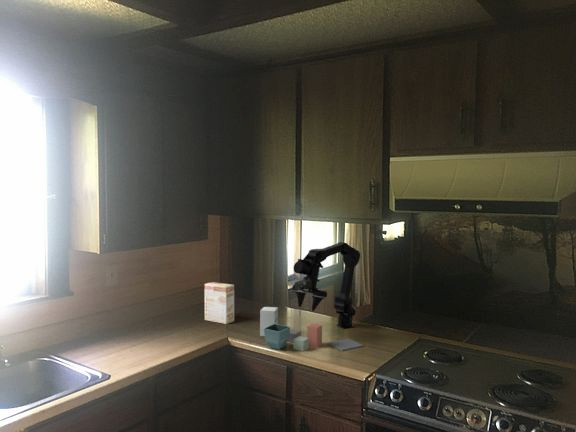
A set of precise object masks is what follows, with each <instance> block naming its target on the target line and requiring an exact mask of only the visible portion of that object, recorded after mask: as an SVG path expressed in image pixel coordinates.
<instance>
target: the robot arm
mask: <svg viewBox="0 0 576 432" xmlns="http://www.w3.org/2000/svg"><path fill="white" fill-rule="evenodd" d="M339 253H340V255H341V256H342V262H343V264H344V269H343V276H342V280H341V281H342V282H341V287H340V292H339V295H338V296H335V297H334V303H333V305H334V310H335V312H336V314H337V315H338V319H337V320H338V321H337V324H336V326H338V327H339V328H342V329H350V328H354V327H355V325H354V324H353V317H354V316H356V309H354V307H353V304H352V303H353V301H352V298H351V291H352V285H353V279H354V274H355V268H356V266H357V265H358V264H359V262H360V259H361V253H360V251H359V250H358V249H356V248H354V247H352V246H351V245H350V244H348V243H347V242H340V241H339V242H337V243H335V244H331V245H329V246H326V247H323V248H312V249H309V250H308V253H307V254H306V255H305V256H304V258H303V259H301V258H298V259H297V261H296V262H295V263H294V265H293V272H294V274H297V275H303V278H302V280H299V281H298V280H297V281H295V282H294V284H293V285H292V290H293V293H295V294H296V297H297V303H298V308H301V307H302V305H303V303H304V300H305V297H306V294H307V293H310V294H312V295H311V298H312V305H311V311H312V312H315V310H316V309H317V307H318V306H319V304H321V302H322V301H323V300H324V299H325V298H327V297H328V291H327V290H323V289H319V287H318V283H319V282H320V279H319V274H320V269H323V268H324V265H323V264H322V262H325V260H327V258H329V257H330V256H333V255H336V254H339ZM292 290H291V291H292Z"/></svg>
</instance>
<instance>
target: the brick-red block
mask: <svg viewBox="0 0 576 432" xmlns="http://www.w3.org/2000/svg"><path fill="white" fill-rule="evenodd" d="M306 338H309V347H312V348H316V349H317V348H319V347H321V346H322V345H323V324H318V323H313V322H312V323H310V324H308V325H307V326H306Z"/></svg>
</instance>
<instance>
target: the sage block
mask: <svg viewBox="0 0 576 432" xmlns="http://www.w3.org/2000/svg"><path fill="white" fill-rule="evenodd" d="M292 345H293V346H292V349H293V350H296V351H300V350H301V352H304V351H306V350H307V349H309V347H310V346H309V338H307V336H306V337H305V336H301V337H300V336H298V337H297V338H295V339H293V343H292Z"/></svg>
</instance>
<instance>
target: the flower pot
mask: <svg viewBox="0 0 576 432" xmlns="http://www.w3.org/2000/svg"><path fill="white" fill-rule="evenodd" d="M290 330H291V326H287V325H282V324H279V323H278V324H272V325H270V326H268V327H266V328H264V334H265V336H264V339H265V342H266V344H267V346H268V348H270V349H276V350H280V349H282V348H284V347H285V346H286V345H287V343H288V342H287V341H288V339H289V333H290Z"/></svg>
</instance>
